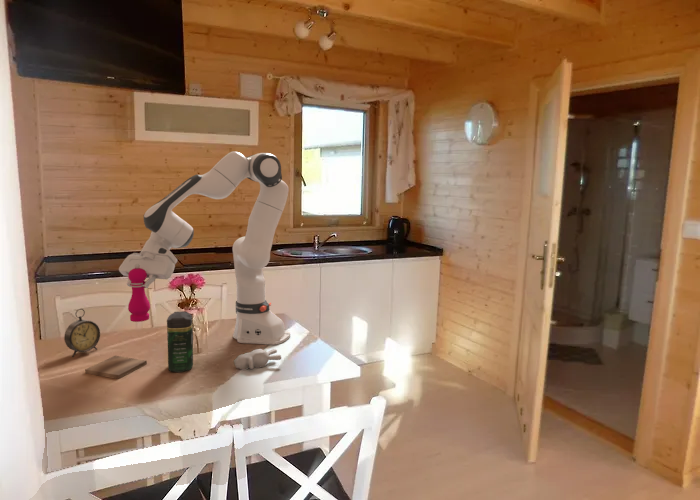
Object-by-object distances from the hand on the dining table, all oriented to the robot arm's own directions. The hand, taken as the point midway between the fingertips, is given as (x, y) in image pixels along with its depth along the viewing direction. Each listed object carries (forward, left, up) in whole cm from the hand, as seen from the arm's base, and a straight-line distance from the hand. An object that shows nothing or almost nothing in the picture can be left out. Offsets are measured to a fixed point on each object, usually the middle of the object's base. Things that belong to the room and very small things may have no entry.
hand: (136, 286), depth 177 cm
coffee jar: (-22, +6, -24) cm, 33 cm away
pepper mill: (0, -1, -12) cm, 12 cm away
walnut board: (-3, +14, -24) cm, 28 cm away
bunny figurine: (-44, -4, -25) cm, 51 cm away
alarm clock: (+18, +7, -24) cm, 31 cm away
